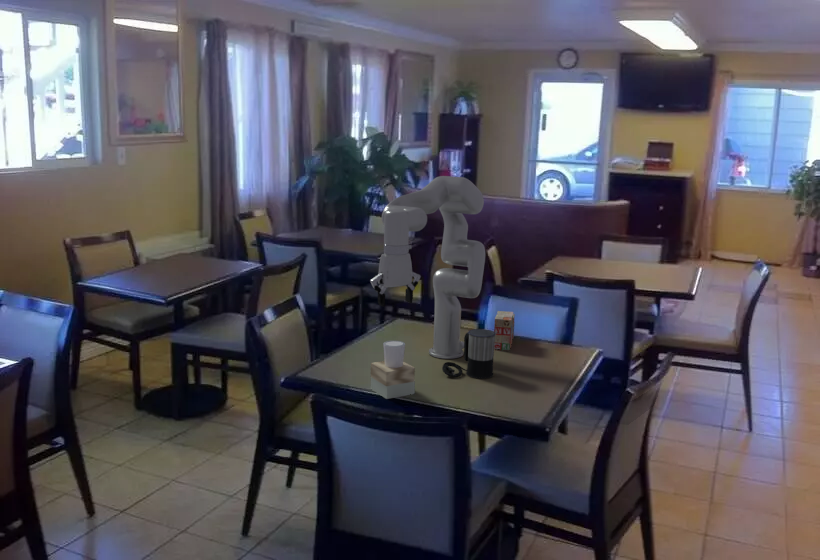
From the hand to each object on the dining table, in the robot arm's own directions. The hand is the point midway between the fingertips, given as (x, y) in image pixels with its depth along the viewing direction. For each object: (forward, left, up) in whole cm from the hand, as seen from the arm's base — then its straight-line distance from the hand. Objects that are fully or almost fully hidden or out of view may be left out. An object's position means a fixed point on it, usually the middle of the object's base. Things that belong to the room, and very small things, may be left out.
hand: (395, 303), depth 247 cm
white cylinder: (+2, +4, -19) cm, 19 cm away
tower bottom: (+3, +4, -27) cm, 28 cm away
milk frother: (-28, +1, -27) cm, 39 cm away
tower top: (+3, +5, -23) cm, 24 cm away
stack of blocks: (-62, -26, -27) cm, 73 cm away
